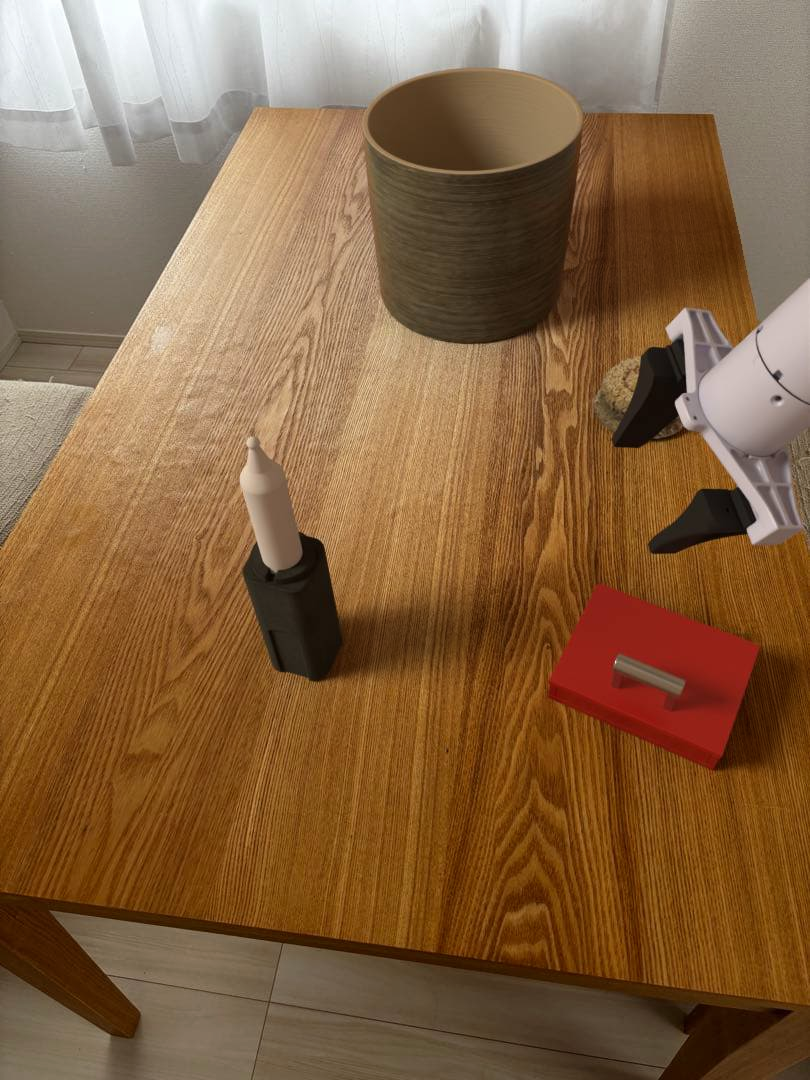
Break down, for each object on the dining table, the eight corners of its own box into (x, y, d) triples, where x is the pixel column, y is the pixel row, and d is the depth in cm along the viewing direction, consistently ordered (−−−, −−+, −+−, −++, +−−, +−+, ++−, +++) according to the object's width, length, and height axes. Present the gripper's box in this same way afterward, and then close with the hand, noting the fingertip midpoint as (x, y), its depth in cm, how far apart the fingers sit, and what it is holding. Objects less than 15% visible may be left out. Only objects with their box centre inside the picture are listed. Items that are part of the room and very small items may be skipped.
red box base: (712, 771, 64) (722, 753, 62) (547, 697, 69) (550, 679, 66) (748, 669, 69) (758, 649, 67) (592, 607, 74) (596, 586, 71)
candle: (346, 634, 73) (306, 418, 54) (324, 685, 70) (272, 476, 51) (292, 619, 74) (233, 402, 55) (267, 668, 72) (195, 458, 52)
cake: (598, 447, 86) (600, 407, 82) (588, 381, 92) (589, 340, 88) (701, 440, 85) (709, 399, 81) (684, 373, 91) (690, 332, 87)
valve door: (720, 759, 62) (735, 733, 58) (548, 683, 66) (552, 655, 63) (759, 649, 67) (774, 619, 64) (597, 586, 71) (603, 555, 68)
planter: (356, 255, 108) (339, 88, 92) (524, 220, 111) (535, 53, 95) (406, 365, 94) (395, 192, 79) (595, 322, 97) (621, 147, 82)
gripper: (693, 244, 45) (559, 396, 56) (799, 484, 39) (626, 602, 50) (790, 261, 48) (645, 402, 59) (903, 487, 42) (718, 597, 53)
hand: (642, 494), depth 55 cm, fingers open, 7 cm apart
